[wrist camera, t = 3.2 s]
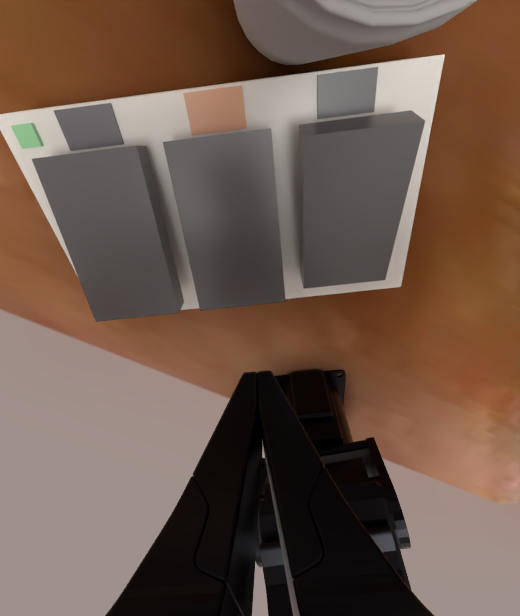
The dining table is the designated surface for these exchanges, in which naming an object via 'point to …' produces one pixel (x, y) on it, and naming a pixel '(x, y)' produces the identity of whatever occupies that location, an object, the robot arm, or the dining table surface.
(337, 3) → the beverage can
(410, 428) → the dining table surface
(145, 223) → the block
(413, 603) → the robot arm
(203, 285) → the block
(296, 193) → the rocker switch panel
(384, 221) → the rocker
